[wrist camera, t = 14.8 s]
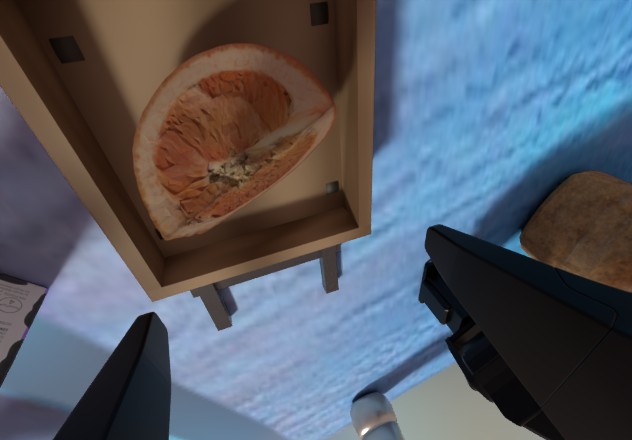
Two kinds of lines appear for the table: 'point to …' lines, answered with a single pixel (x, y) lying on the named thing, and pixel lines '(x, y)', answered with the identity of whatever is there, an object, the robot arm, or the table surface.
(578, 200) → the bread
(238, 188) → the fruit slice
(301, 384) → the table surface
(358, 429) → the plastic bottle
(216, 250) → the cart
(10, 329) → the candy box
